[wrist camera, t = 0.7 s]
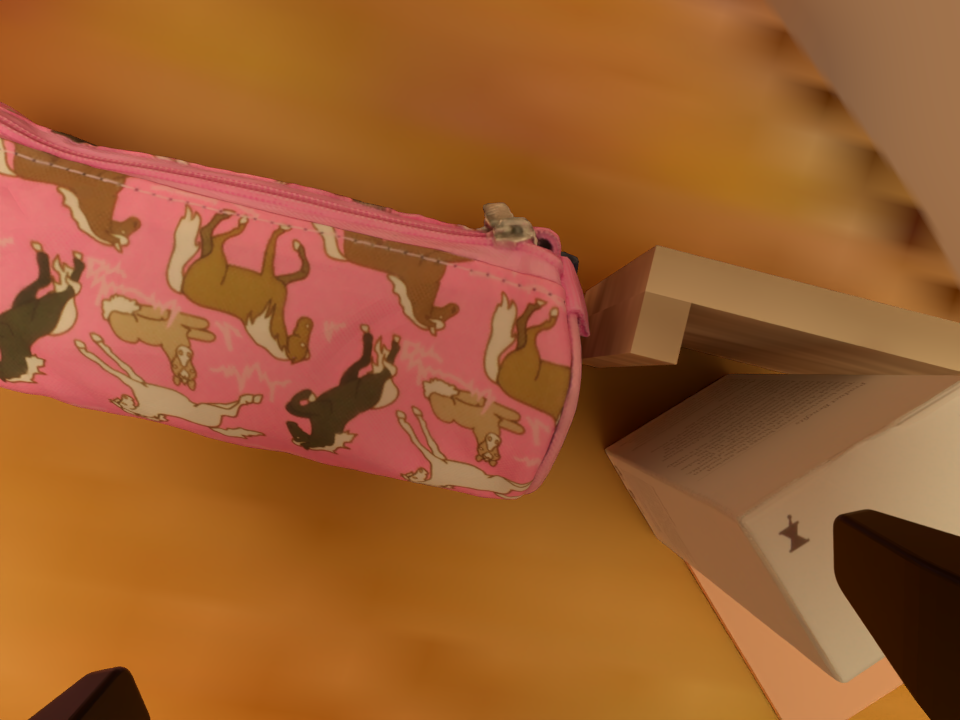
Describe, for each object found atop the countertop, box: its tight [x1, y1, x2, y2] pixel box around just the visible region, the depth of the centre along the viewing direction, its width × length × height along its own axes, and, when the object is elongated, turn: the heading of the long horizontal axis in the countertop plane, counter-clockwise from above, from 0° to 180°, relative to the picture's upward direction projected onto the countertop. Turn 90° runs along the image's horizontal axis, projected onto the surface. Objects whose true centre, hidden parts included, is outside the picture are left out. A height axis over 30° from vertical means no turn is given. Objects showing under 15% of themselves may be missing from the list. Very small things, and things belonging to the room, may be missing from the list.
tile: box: [684, 560, 903, 720], centre depth 25 cm, size 9×9×1 cm
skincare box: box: [605, 374, 960, 683], centre depth 19 cm, size 6×4×12 cm
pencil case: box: [0, 102, 590, 499], centre depth 20 cm, size 21×9×9 cm, turn 78°
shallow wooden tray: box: [580, 245, 960, 375], centre depth 21 cm, size 3×11×9 cm, turn 76°
